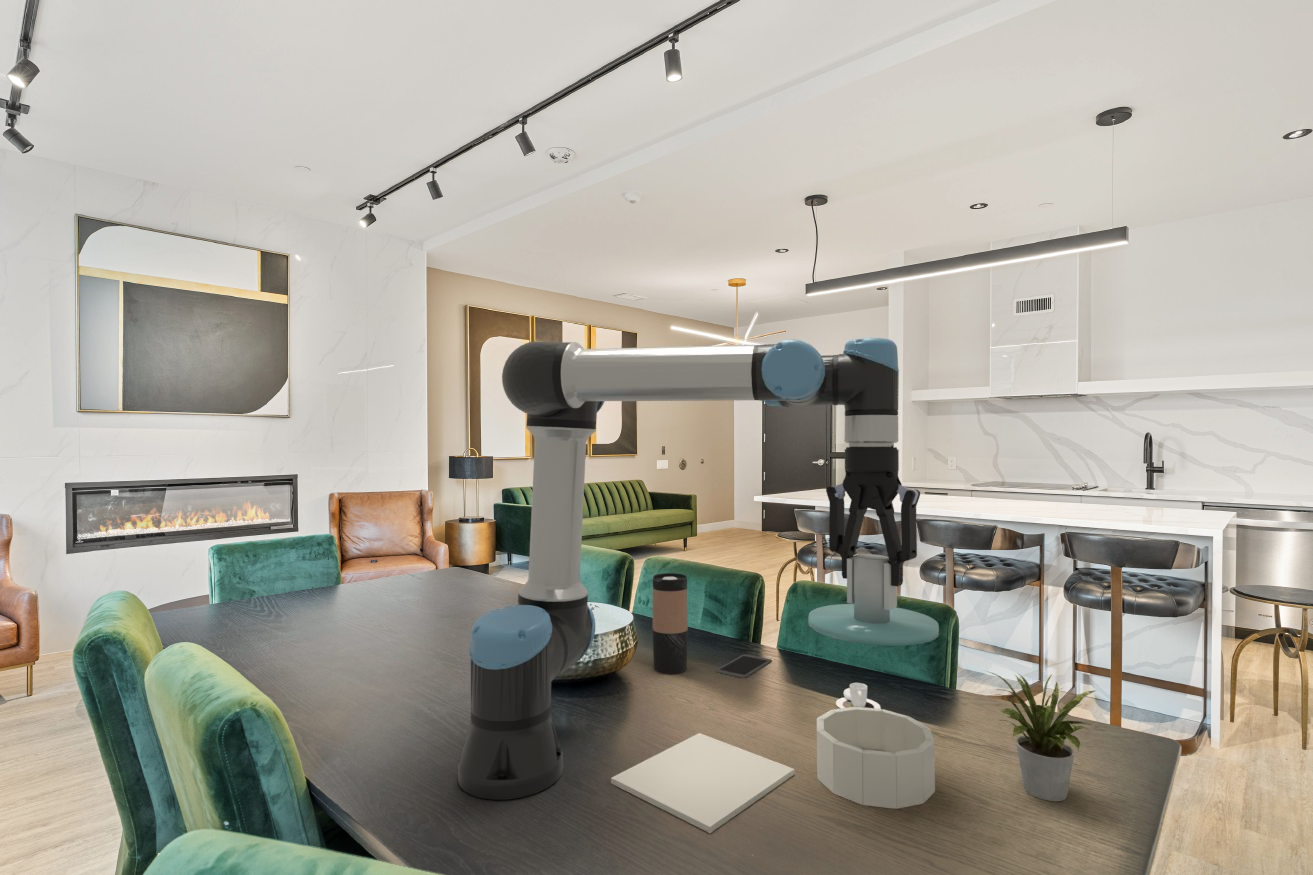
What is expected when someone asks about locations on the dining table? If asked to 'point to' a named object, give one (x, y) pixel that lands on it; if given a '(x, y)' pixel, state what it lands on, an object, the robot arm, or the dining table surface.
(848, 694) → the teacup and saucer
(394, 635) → the dining table surface
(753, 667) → the cell phone
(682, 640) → the travel mug
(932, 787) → the bowl
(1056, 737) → the house plant
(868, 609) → the lid
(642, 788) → the mat
